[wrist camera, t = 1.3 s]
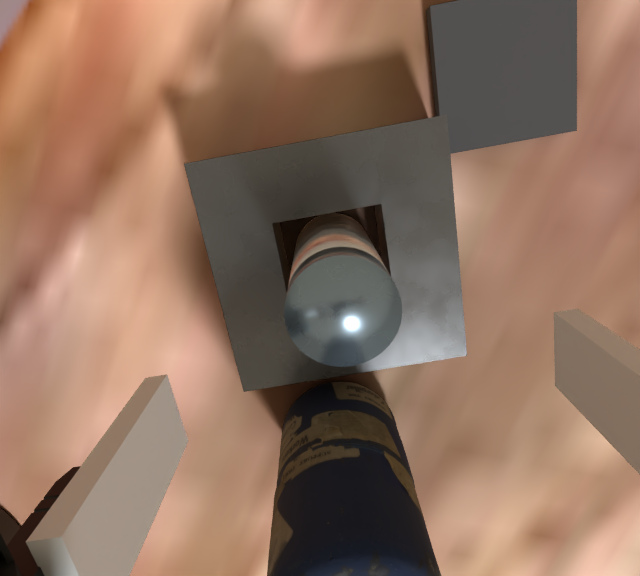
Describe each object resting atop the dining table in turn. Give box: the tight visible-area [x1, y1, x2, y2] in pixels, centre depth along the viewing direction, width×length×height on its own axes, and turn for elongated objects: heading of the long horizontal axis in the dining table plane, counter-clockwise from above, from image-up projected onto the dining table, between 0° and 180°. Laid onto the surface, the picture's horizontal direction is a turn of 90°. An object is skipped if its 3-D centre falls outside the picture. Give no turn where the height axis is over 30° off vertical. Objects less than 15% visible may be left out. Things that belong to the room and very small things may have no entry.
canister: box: [267, 382, 441, 576], centre depth 30 cm, size 10×10×18 cm
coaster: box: [426, 0, 577, 154], centre depth 29 cm, size 9×9×1 cm
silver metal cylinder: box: [284, 213, 402, 367], centre depth 27 cm, size 6×6×13 cm
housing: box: [184, 115, 467, 392], centre depth 31 cm, size 16×16×4 cm
